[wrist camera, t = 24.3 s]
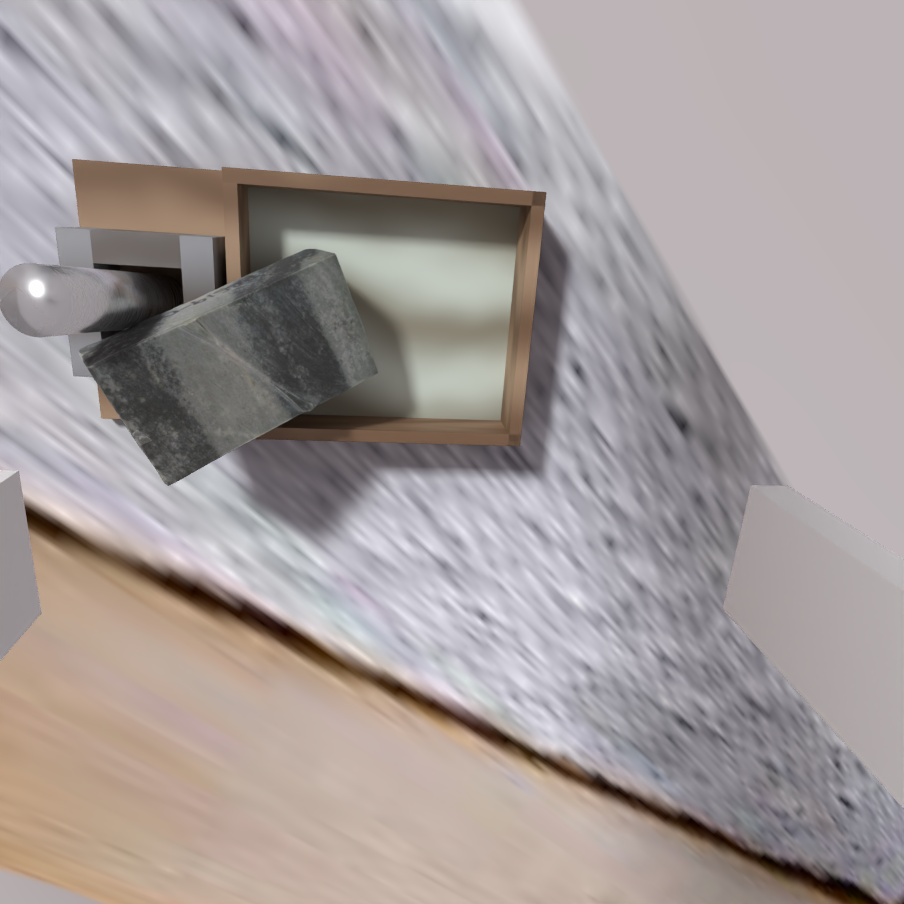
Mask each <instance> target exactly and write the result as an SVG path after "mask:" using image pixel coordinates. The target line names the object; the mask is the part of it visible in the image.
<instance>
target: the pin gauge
mask: <svg viewBox="0 0 904 904" xmlns="http://www.w3.org/2000/svg"><path fill="white" fill-rule="evenodd" d="M182 304H184V299H183V289H182V287H181V286H180V285H179V283H178V282H176V281H175V280H174V279H172V278H171V277H169V276H166V275H161V274H149V273H138V272H126V271H115V270H104V269H92V268H81V267H69V266H58V265H47V264H35V263H24V264H19V265H17V266H14V267H13V268H11V269H10V270H8V271H7V272H6V273H5V275H4V276H3V277H2V279H1V281H0V309H1V311H2V313H3V315H4V317H5V318H6V320H7V321H8V322H9V323H10V324H11V325H12V326H13V327H14V328H15V329H17V330H18V331H20V332H21V333H24V334H26V335H29V336H33V337H48V336H59V335H70V334H81V333H92V332H103V331H114V330H125V329H128V328H130V327H132V326H134V325H136V324H138V323H140V322H143V321H145V320H147V319H149V318H151V317H154V316H156V315H159V314H161V313H163V312H166V311H169V310H171V309H173V308H175V307H177V306H180V305H182Z"/></svg>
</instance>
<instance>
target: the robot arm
mask: <svg viewBox="0 0 904 904" xmlns="http://www.w3.org/2000/svg"><path fill="white" fill-rule="evenodd" d="M723 610H724V611H725V612H726V613H727V614H728V615H729V617H730V618H731V619H732V620H733V621H734V622H735V623H736V624H737V625H738V626H739V628H740V629H741V630H742V631H743V632H744V633H745V634H746V635H747V636H748V637H749V639H750V640H751V641H752V642H753V643H754V644H755V645H756V646H757V647H758V649H759V650H760V651H761V652H762V653H763V654H764V655H765V656H766V657H767V658H768V660H769V661H770V662H771V663H772V664H773V665H774V666H775V667H776V668H777V670H778V671H779V672H780V673H781V674H782V675H783V676H784V677H785V678H786V679H787V681H788V682H789V683H790V684H791V685H792V686H793V687H794V688H795V689H796V690H797V692H798V693H799V694H800V695H801V696H802V697H803V698H804V699H805V700H806V702H807V703H808V704H809V705H810V706H811V707H812V708H813V709H814V710H815V711H816V713H817V714H818V715H819V716H820V717H821V718H822V719H823V720H824V721H825V723H826V724H827V725H828V726H829V727H830V728H831V729H832V730H833V731H834V732H835V734H836V735H837V736H838V737H839V738H840V739H841V740H842V741H843V742H844V743H845V745H846V746H847V747H848V748H849V749H850V750H851V751H852V752H853V753H854V755H855V756H856V757H857V758H858V759H859V760H860V761H861V762H862V763H863V764H864V766H865V767H866V768H867V769H868V770H869V771H870V772H871V773H872V774H873V775H874V777H875V778H876V779H877V780H878V781H879V782H880V783H881V784H882V785H883V787H884V788H885V789H886V790H887V791H888V792H889V793H890V794H891V795H892V796H893V798H894V799H895V800H896V801H897V802H898V803H899V804H900V805H901V806H902V808H903V809H904V559H903V558H901V557H900V556H898V555H897V554H895V553H893V552H892V551H890V550H889V549H887V548H885V547H884V546H882V545H881V544H879V543H877V542H876V541H874V540H873V539H871V538H870V537H868V536H867V535H865V534H863V533H862V532H860V531H858V530H857V529H855V528H854V527H852V526H851V525H849V524H847V523H846V522H844V521H843V520H841V519H840V518H838V517H836V516H835V515H833V514H832V513H830V512H829V511H827V510H825V509H824V508H822V507H820V506H819V505H817V504H816V503H814V502H813V501H811V500H810V499H808V498H806V497H805V496H803V495H802V494H800V493H798V492H797V491H795V490H794V489H792V488H791V487H789V486H775V485H751V488H750V492H749V496H748V501H747V505H746V509H745V514H744V518H743V522H742V527H741V531H740V535H739V540H738V544H737V548H736V553H735V557H734V561H733V566H732V570H731V575H730V579H729V583H728V588H727V592H726V596H725V601H724V605H723ZM40 614H41V607H40V601H39V595H38V588H37V582H36V576H35V570H34V563H33V557H32V551H31V544H30V538H29V532H28V526H27V519H26V513H25V507H24V501H23V494H22V488H21V482H20V475H19V470H0V661H1V660H2V658H3V657H4V656H5V655H6V654H7V653H8V651H9V650H10V649H11V648H12V647H13V646H14V644H15V643H16V642H17V641H18V640H19V639H20V637H21V636H22V635H23V634H24V633H25V632H26V630H27V629H28V628H29V627H30V626H31V625H32V623H33V622H34V621H35V620H36V619H37V618H38V616H39V615H40Z"/></svg>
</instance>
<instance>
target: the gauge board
mask: <svg viewBox="0 0 904 904" xmlns="http://www.w3.org/2000/svg"><path fill="white" fill-rule="evenodd" d="M72 162H73V171H74V180H75V189H76V198H77V207H78V216H79V224H80V227H55V232H56V240H57V248H58V256H59V264H60V266H69V267H81V268H92V269H104V270H115V271H126V272H138V273H149V274H161V275H166V276H169V277H171V278H172V279H174V280H175V281H176V282H178V283H179V285H180V286H181V287H182V289H183V299H184V304H185V303H187V302H190V301H192V300H194V299H197V298H199V297H201V296H203V295H205V294H207V293H209V292H211V291H214V290H216V289H218V288H220V287H222V286H225V285H227V284H229V283H231V282H233V281H235V280H237V279H240V278H242V277H244V276H246V275H248V274H251V273H253V272H255V271H257V270H260V269H262V268H264V267H267V266H269V265H271V264H273V263H275V262H278V261H280V260H282V259H284V258H286V257H288V256H291V255H294V254H296V253H298V252H300V251H303V250H305V249H318V250H324V251H327V252H331V253H335V254H336V256H337V259H338V261H339V264H340V266H341V269H342V271H343V274H344V277H345V280H346V282H347V285H348V288H349V290H350V293H351V297H352V299H353V302H354V304H355V306H356V309H357V311H358V314H359V316H360V319H361V321H362V324H363V327H364V330H365V332H366V337H367V341H368V345H369V348H370V351H371V353H372V356H373V359H374V362H375V364H376V367H377V370H378V374H376V375H374V376H372V377H370V378H369V379H367V380H365V381H363V382H361V383H359V384H358V385H356V386H354V387H352V388H350V389H348V390H346V391H345V392H343V393H341V394H339V395H337V396H335V397H333V398H332V399H330V400H328V401H326V402H324V403H322V404H320V405H318V406H316V407H315V408H314V409H313V410H312V411H309V412H305V413H302V414H300V415H298V416H296V417H294V418H292V419H290V420H289V421H287V422H285V423H283V424H281V425H279V426H278V427H276V428H274V429H272V430H270V431H268V432H267V433H265V434H263V435H261V436H259V437H257V438H255V439H276V440H314V441H351V442H388V443H425V444H463V445H500V446H520V439H521V430H522V420H523V411H524V401H525V392H526V382H527V372H528V363H529V353H530V344H531V334H532V325H533V315H534V305H535V296H536V286H537V277H538V267H539V258H540V248H541V238H542V229H543V219H544V210H545V200H546V192H536V191H523V190H510V189H497V188H485V187H472V186H459V185H446V184H433V183H420V182H408V181H395V180H382V179H369V178H356V177H344V176H331V175H318V174H305V173H292V172H279V171H267V170H254V169H241V168H228V167H222V171H219V170H206V169H193V168H180V167H167V166H154V165H141V164H128V163H115V162H102V161H90V160H77V159H72ZM125 330H126V329H125ZM121 331H124V330H114V331H103V332H92V333H81V334H70V335H68V336H69V344H70V352H71V360H72V368H73V376H82V377H92V375H91V373H90V372H89V370H88V369H87V367H86V366H85V364H84V363H83V360H82V358H81V356H80V355H79V350H80V349H81V348H83V347H85V346H87V345H90V344H93V343H95V342H98V341H100V340H103V339H105V338H108V337H110V336H113V335H115V334H117V333H119V332H121ZM98 393H99V402H100V411H101V418H103V419H120V417H119V416H118V414H117V412H116V411H115V409H114V408H113V407H112V405H111V404H110V402H109V401H108V399H107V398H106V396H105V395H104V393H103V392H102V390H101V389H100V387H99V385H98Z"/></svg>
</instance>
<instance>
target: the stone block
mask: <svg viewBox="0 0 904 904" xmlns="http://www.w3.org/2000/svg"><path fill="white" fill-rule="evenodd" d="M79 355H80V356H81V358H82V360H83V363H84V364H85V366H86V367H87V369H88V370H89V372H90V373H91V375H92V377H93V378H94V380H95V381H96V383H97V384H98V385H99V387H100V389H101V390H102V392H103V393H104V395H105V396H106V398H107V399H108V401H109V402H110V404H111V405H112V407H113V408H114V409H115V411H116V412H117V414H118V416H119V417H120V419H121V420H122V422H123V423H124V425H125V426H126V428H127V429H128V430H129V432H130V433H131V435H132V436H133V438H134V439H135V441H136V442H137V444H138V445H139V447H140V448H141V450H142V451H143V452H144V453H145V455H146V456H147V457H148V459H149V460H150V462H151V463H152V464H153V466H154V467H155V469H156V470H157V472H158V473H159V475H160V477H161V478H162V480H163V482H164V483H165V484H166V485H168V486H169V485H171V484H173V483H175V482H177V481H179V480H181V479H182V478H184V477H186V476H188V475H189V474H191V473H193V472H195V471H196V470H198V469H200V468H202V467H204V466H205V465H207V464H209V463H211V462H212V461H214V460H216V459H218V458H220V457H221V456H223V455H225V454H227V453H229V452H231V451H233V450H235V449H237V448H238V447H240V446H242V445H244V444H246V443H248V442H249V441H251V440H253V439H255V438H257V437H259V436H261V435H263V434H265V433H267V432H268V431H270V430H272V429H274V428H276V427H278V426H279V425H281V424H283V423H285V422H287V421H289V420H290V419H292V418H294V417H296V416H298V415H300V414H302V413H305V412H309V411H312V410H313V409H314V408H315V407H316V406H318V405H320V404H322V403H324V402H326V401H328V400H330V399H332V398H333V397H335V396H337V395H339V394H341V393H343V392H345V391H346V390H348V389H350V388H352V387H354V386H356V385H358V384H359V383H361V382H363V381H365V380H367V379H369V378H370V377H372V376H374V375H376V374H378V370H377V367H376V364H375V362H374V359H373V356H372V353H371V351H370V348H369V345H368V341H367V337H366V332H365V330H364V327H363V324H362V321H361V319H360V316H359V314H358V311H357V309H356V306H355V304H354V302H353V299H352V297H351V293H350V290H349V288H348V285H347V282H346V280H345V277H344V274H343V271H342V269H341V266H340V264H339V261H338V259H337V256H336V254H335V253H331V252H327V251H324V250H318V249H305V250H303V251H300V252H298V253H296V254H294V255H291V256H288V257H286V258H284V259H282V260H280V261H278V262H275V263H273V264H271V265H269V266H267V267H264V268H262V269H260V270H257V271H255V272H253V273H251V274H248V275H246V276H244V277H242V278H240V279H237V280H235V281H233V282H231V283H229V284H227V285H225V286H222V287H220V288H218V289H216V290H214V291H211V292H209V293H207V294H205V295H203V296H201V297H199V298H197V299H194V300H192V301H190V302H187V303H185V304H182V305H180V306H177V307H175V308H173V309H171V310H169V311H166V312H163V313H161V314H159V315H156V316H154V317H151V318H149V319H147V320H145V321H143V322H140V323H138V324H136V325H134V326H132V327H130V328H128V329H126V330H124V331H121V332H119V333H117V334H115V335H113V336H110V337H108V338H105V339H103V340H100V341H98V342H95V343H93V344H90V345H87V346H85V347H83V348H81V349H80V350H79Z"/></svg>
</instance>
